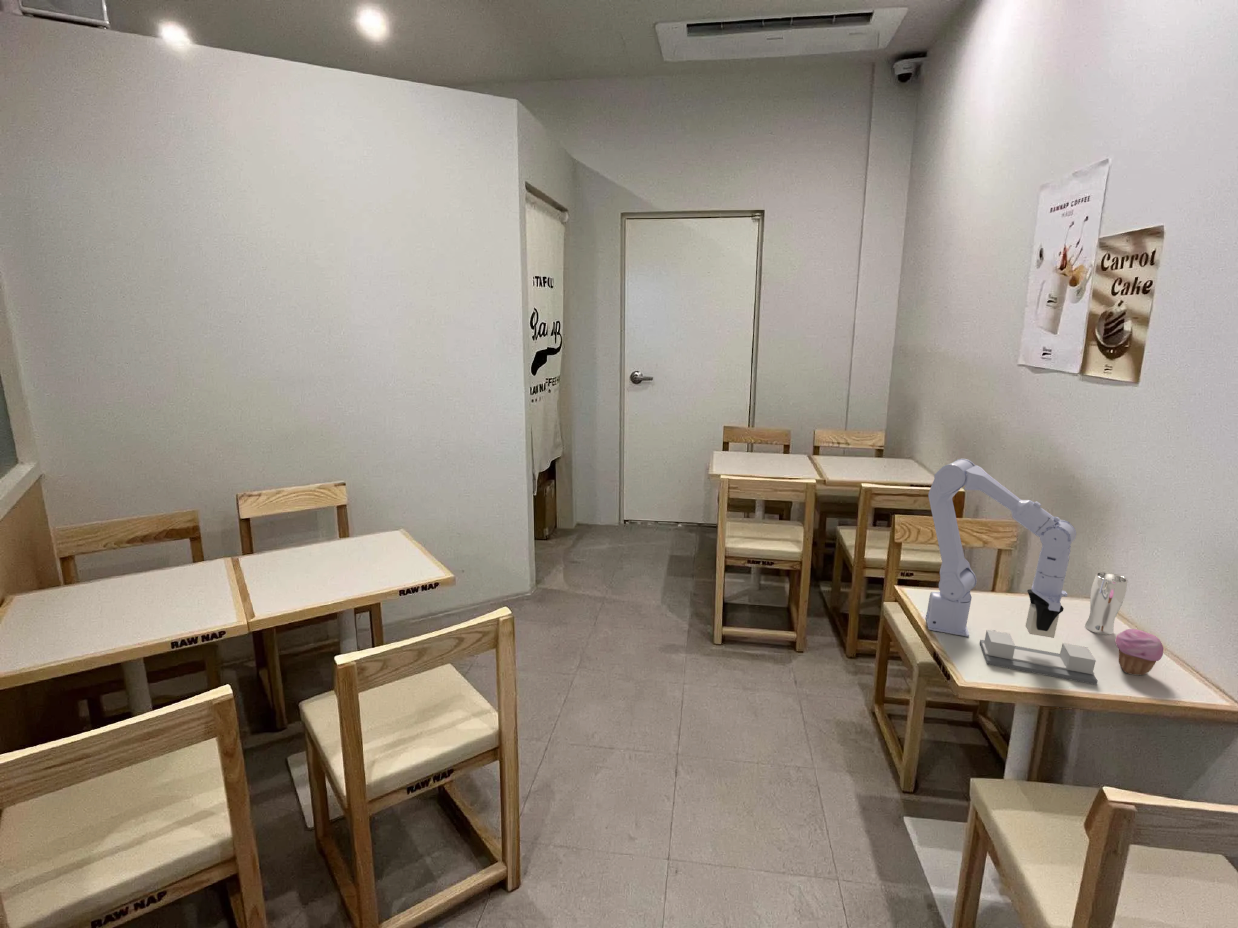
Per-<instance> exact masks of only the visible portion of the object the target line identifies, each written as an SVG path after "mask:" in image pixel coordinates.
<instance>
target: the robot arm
mask: <svg viewBox="0 0 1238 928" xmlns="http://www.w3.org/2000/svg"><path fill="white" fill-rule="evenodd" d="M933 475H934V476H933V477H934V478H933V481H932V483H931V486H930V489H929V491H928V495H927V496H928V501H929V506H930V510H931V515H932V516H931V517H932V520H933V524H934V529H935V535H936V538H937V543H938V548H939V553H940V557H941V565H940V570H939V577H940V578H939V579H940V580H939V582H938V590H939V591H931V592H930V593H929V597H928V603H927V610H926V614H925V619H926V623H927V628H928V630H929V631H935V632H940V633H945V634H951V635H957V636H961V637H962V636H963V637H970V633H969V628H968V626H967V624H968V621H969V614H970V609H971V608H970V607H971V602H972V594H971V590H973V589H974V588H976V586H977V582H978V580H977V579H978V578H977V576H976V574H975V572H974V571H973V570H972V568H971V564H970V562H969V561H968V560H967V559H966V557H965V554H964V548H963V545H962V539H961V534H960V529H959V526H958V521H957V515H956V511H955V506H954V502H953V497H954V496H956V494H957V493H958V492H959V491H960V490H961V489H962V488H963V487H964V489H963V490H965V491H980V492H981V493H984V494H985V495H987V496H988V497H989V498H991V499H993V500H994V501H996V502H997V503H999V504H1001V506H1003V507H1004V508H1006V509H1008V510H1009V511H1010V512H1011V517H1012V519H1013V520H1014V521H1016V522H1017V523H1018V524H1020V525H1021V526H1023V527H1024V528H1025V529H1026V530H1028V531H1029V532H1031V533H1032V534H1033V535H1035V536H1037V537H1038V538H1039V540H1040V542H1041V550H1040V551H1039V554H1038V555H1039V556H1038V560H1037V565H1036V569H1035V575H1034V576H1033V580H1032V585H1031V589H1027V591H1026V592H1027V594H1028V597H1029V601H1030V604H1035V606H1036V612H1037V620H1036V626H1037V629H1038V630H1042V631H1048V629H1049V628H1050V626H1051V624H1052V622H1053V621H1054V619H1055V618H1056V617H1057V616H1058V615H1059V616H1060V614H1061V613H1063V612H1064V606H1063V605H1062V604H1061V600H1062V597H1065V598H1066V597H1068V593H1067V591H1066V590H1063V588H1064V585H1065V584H1064V583H1065V579H1066V575H1067V571H1068V570H1067V569H1068V565H1069V562H1070V554H1071V548H1072V546H1071V544H1072V543H1074V541H1075V539H1076V537H1077V531H1076V528H1075V527H1074V526H1073V525H1072V523H1070V521H1067V520H1064V519H1061V518H1060V517H1059V516H1054V515H1052V514H1051V513H1050V512H1048V511H1047V510H1046V509H1044V508H1042V507H1041V506H1042V503H1040V502H1039V501H1032V500H1031V499H1021V498H1020V497H1018V496H1017V495H1016V494H1015V493H1013V492H1012V491H1011V490H1009V489H1008V488H1007V487H1006V486H1004V485H1003V484H1001V483H1000V482H999V481H998V480H997V479H995V478H994V477H992V476H991V475H990V474H989V473H987V472H986V471H985V470H984V468H983V467H981V466H979V465H977V464H975V463H974V462H973V461H971V460H970V459H968V458H967V459H966V458H958V459H956V460H954V461H953V462H951V463H948V464H945V465H943V466H942V467H941V468H939V469H938V470H937V471H936V473H935V474H933Z"/></svg>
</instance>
